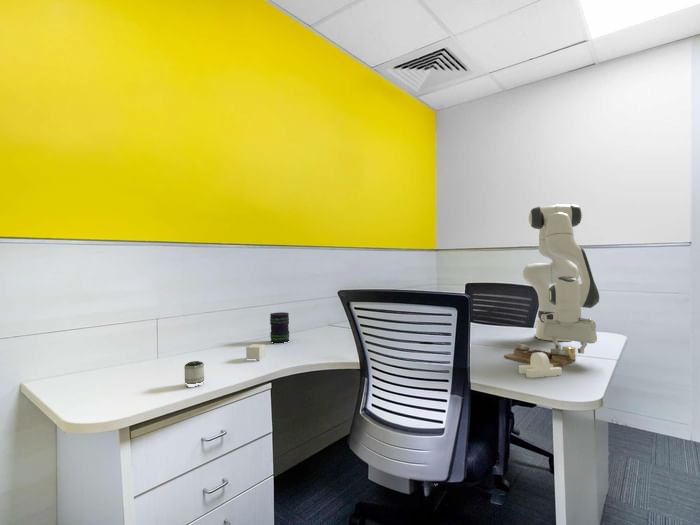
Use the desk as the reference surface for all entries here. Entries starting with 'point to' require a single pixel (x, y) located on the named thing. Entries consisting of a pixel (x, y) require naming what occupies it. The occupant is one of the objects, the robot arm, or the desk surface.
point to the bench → (525, 354)
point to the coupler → (570, 353)
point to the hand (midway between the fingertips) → (569, 350)
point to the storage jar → (279, 327)
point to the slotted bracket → (539, 367)
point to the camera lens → (194, 372)
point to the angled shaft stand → (559, 354)
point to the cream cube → (255, 351)
